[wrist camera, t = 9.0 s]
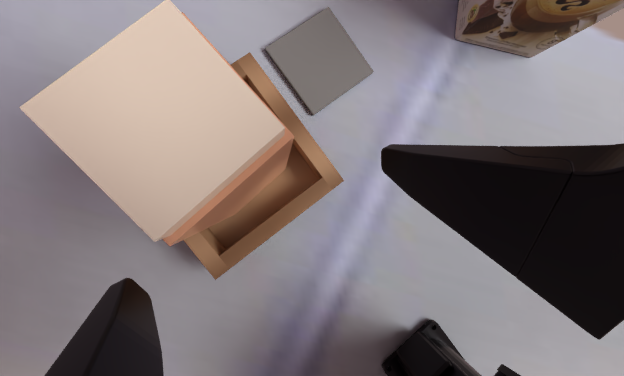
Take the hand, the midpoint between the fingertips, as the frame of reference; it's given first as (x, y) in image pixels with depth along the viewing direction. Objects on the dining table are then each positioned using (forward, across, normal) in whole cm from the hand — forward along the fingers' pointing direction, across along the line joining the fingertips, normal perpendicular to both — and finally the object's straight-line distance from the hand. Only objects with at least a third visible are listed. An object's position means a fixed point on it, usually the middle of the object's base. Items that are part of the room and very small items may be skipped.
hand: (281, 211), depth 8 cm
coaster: (+15, -11, -1) cm, 18 cm away
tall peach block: (+12, 0, +4) cm, 13 cm away
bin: (+13, -1, +4) cm, 14 cm away
